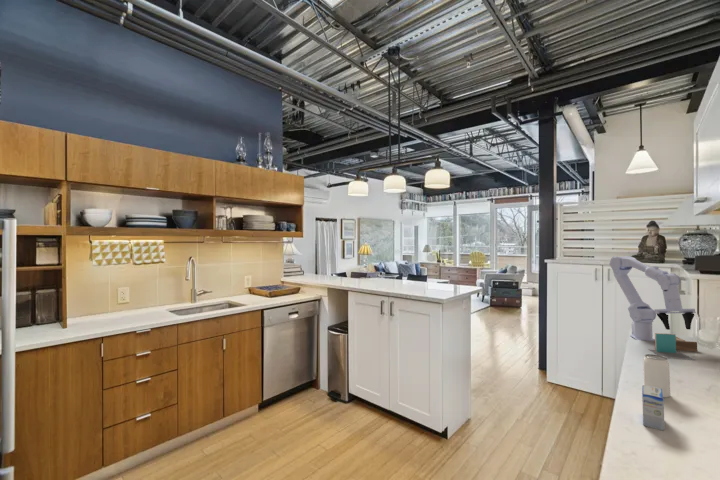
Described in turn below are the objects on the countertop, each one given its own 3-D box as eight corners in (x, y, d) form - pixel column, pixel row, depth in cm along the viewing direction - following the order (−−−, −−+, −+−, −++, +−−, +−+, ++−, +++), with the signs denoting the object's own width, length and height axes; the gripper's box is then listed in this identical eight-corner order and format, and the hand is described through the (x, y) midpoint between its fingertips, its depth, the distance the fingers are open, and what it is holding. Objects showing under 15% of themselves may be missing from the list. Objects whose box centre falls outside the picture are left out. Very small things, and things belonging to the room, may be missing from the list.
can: (639, 392, 113) (638, 355, 113) (650, 388, 116) (649, 352, 116) (663, 399, 107) (662, 361, 108) (674, 395, 110) (673, 358, 110)
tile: (655, 350, 154) (654, 333, 154) (674, 352, 152) (674, 334, 152) (656, 351, 153) (656, 333, 153) (676, 352, 150) (675, 334, 151)
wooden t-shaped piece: (657, 343, 168) (657, 333, 168) (680, 344, 165) (680, 335, 165) (672, 350, 155) (672, 341, 155) (697, 352, 152) (697, 342, 152)
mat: (648, 350, 156) (648, 349, 156) (679, 352, 153) (679, 351, 153) (662, 359, 144) (662, 357, 144) (696, 361, 141) (696, 360, 141)
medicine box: (642, 414, 98) (641, 384, 99) (663, 419, 96) (662, 388, 96) (643, 425, 92) (642, 393, 93) (665, 431, 90) (664, 398, 90)
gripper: (657, 300, 159) (663, 330, 157) (696, 299, 154) (703, 330, 152) (650, 300, 165) (655, 328, 163) (687, 298, 161) (693, 328, 158)
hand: (678, 329), depth 158 cm, fingers open, 7 cm apart
